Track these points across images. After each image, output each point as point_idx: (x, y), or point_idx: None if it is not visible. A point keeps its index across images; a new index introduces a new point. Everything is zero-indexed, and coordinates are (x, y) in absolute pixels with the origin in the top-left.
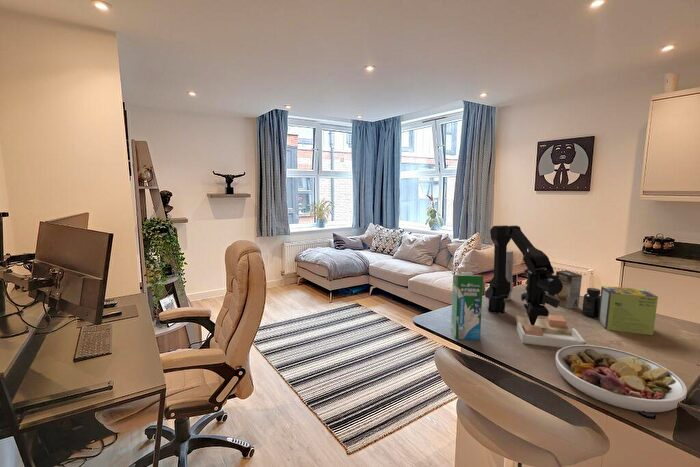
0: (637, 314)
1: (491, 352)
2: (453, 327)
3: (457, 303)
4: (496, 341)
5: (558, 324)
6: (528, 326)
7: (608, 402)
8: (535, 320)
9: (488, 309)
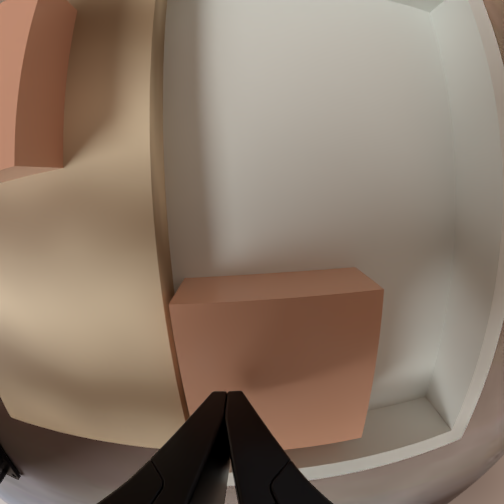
0: None
1: (486, 465)
2: None
3: None
4: (406, 486)
5: (53, 65)
6: None
7: None
8: (272, 440)
9: (3, 472)
